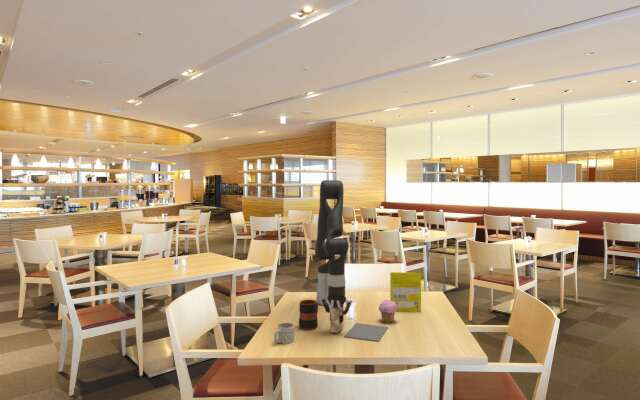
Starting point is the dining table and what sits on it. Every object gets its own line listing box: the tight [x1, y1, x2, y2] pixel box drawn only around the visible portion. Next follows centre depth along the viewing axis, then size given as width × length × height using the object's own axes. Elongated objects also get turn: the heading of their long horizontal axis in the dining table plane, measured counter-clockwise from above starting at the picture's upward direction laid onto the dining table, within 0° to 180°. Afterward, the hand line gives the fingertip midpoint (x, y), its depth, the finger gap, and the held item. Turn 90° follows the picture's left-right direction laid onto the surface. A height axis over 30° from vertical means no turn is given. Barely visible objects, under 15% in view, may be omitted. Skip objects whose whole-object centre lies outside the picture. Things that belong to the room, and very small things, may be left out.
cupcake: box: [378, 299, 398, 323], centre depth 204 cm, size 9×9×10 cm
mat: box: [343, 322, 389, 343], centre depth 190 cm, size 15×18×1 cm
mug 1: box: [273, 322, 295, 345], centre depth 179 cm, size 10×7×7 cm
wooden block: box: [330, 304, 345, 334], centre depth 191 cm, size 3×8×10 cm, turn 158°
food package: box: [389, 271, 422, 313], centre depth 219 cm, size 15×1×20 cm, turn 84°
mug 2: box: [298, 299, 319, 331], centre depth 198 cm, size 9×12×12 cm
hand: (336, 322), depth 190 cm, fingers closed on wooden block, 3 cm apart
